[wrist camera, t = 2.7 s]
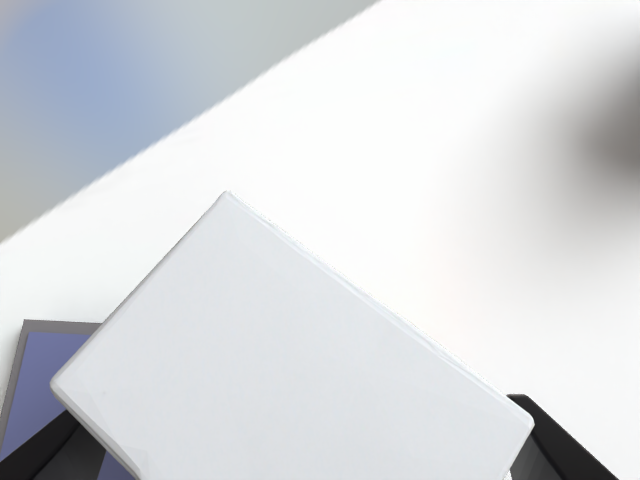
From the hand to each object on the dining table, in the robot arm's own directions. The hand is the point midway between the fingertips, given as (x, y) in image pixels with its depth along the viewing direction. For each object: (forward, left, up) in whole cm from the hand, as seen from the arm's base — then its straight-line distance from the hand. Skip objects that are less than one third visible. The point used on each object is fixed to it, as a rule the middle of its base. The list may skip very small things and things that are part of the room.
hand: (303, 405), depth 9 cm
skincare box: (0, 0, -8) cm, 8 cm away
